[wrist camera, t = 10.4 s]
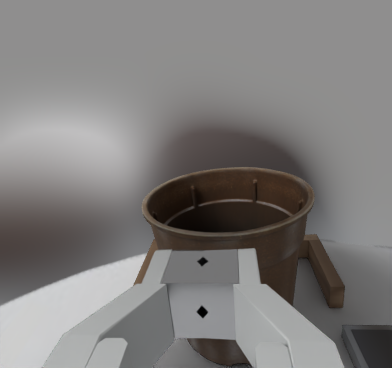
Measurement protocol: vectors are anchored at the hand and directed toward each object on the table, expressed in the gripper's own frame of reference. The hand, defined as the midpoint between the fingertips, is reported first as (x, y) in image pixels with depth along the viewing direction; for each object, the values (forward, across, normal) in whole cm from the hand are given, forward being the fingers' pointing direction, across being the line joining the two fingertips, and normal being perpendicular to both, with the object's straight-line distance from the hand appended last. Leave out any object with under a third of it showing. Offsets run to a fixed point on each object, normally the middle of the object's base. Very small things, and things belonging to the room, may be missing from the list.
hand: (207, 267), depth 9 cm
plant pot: (+19, 0, +22) cm, 29 cm away
